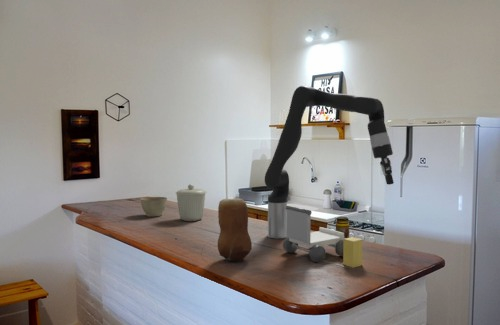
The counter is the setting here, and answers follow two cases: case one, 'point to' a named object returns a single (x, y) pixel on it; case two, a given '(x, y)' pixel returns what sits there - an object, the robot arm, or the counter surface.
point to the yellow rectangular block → (352, 252)
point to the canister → (191, 203)
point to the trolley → (309, 235)
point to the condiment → (342, 226)
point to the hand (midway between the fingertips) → (390, 184)
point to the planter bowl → (154, 205)
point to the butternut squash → (233, 229)
